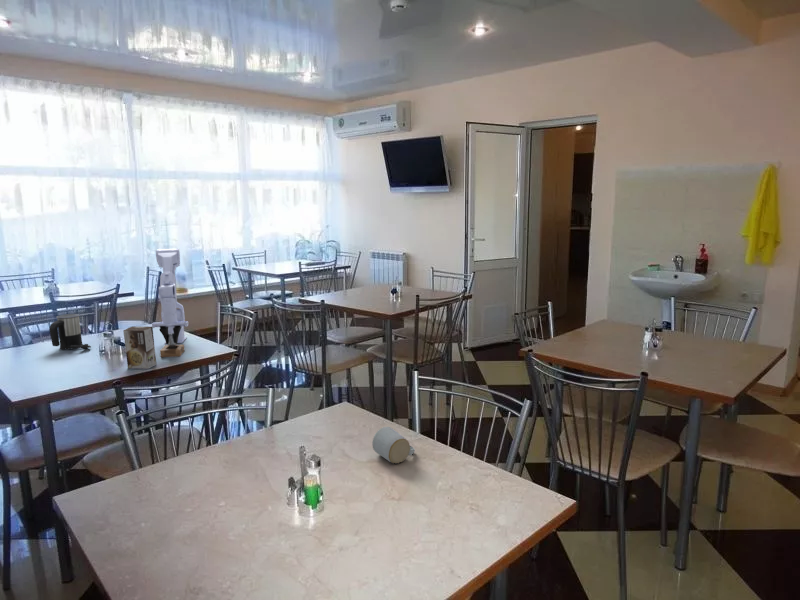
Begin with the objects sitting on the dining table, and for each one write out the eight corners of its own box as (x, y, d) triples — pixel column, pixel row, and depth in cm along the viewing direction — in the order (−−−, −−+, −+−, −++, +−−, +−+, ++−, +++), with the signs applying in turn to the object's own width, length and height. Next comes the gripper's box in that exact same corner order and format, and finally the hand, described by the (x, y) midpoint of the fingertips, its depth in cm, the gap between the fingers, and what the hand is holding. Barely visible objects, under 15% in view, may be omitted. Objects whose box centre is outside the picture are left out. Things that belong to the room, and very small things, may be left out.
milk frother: (67, 344, 248) (63, 313, 246) (101, 343, 249) (98, 313, 246) (49, 353, 235) (44, 320, 232) (85, 352, 235) (81, 320, 232)
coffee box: (157, 364, 219) (153, 326, 216) (148, 369, 213) (144, 330, 210) (136, 363, 220) (132, 325, 217) (126, 368, 214) (122, 329, 211)
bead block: (165, 351, 237) (165, 345, 236) (184, 350, 238) (184, 344, 237) (160, 357, 229) (160, 350, 228) (180, 356, 230) (179, 349, 229)
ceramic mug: (389, 469, 136) (390, 441, 134) (371, 456, 142) (371, 429, 141) (421, 457, 142) (422, 430, 141) (402, 446, 149) (403, 420, 147)
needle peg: (170, 350, 234) (168, 333, 233) (177, 350, 235) (175, 332, 233) (168, 352, 231) (166, 334, 230) (175, 352, 232) (173, 334, 230)
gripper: (148, 315, 225) (151, 346, 227) (184, 313, 227) (187, 344, 229) (153, 311, 231) (156, 341, 234) (188, 310, 234) (190, 340, 236)
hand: (171, 342), depth 232 cm, fingers closed on needle peg, 3 cm apart
